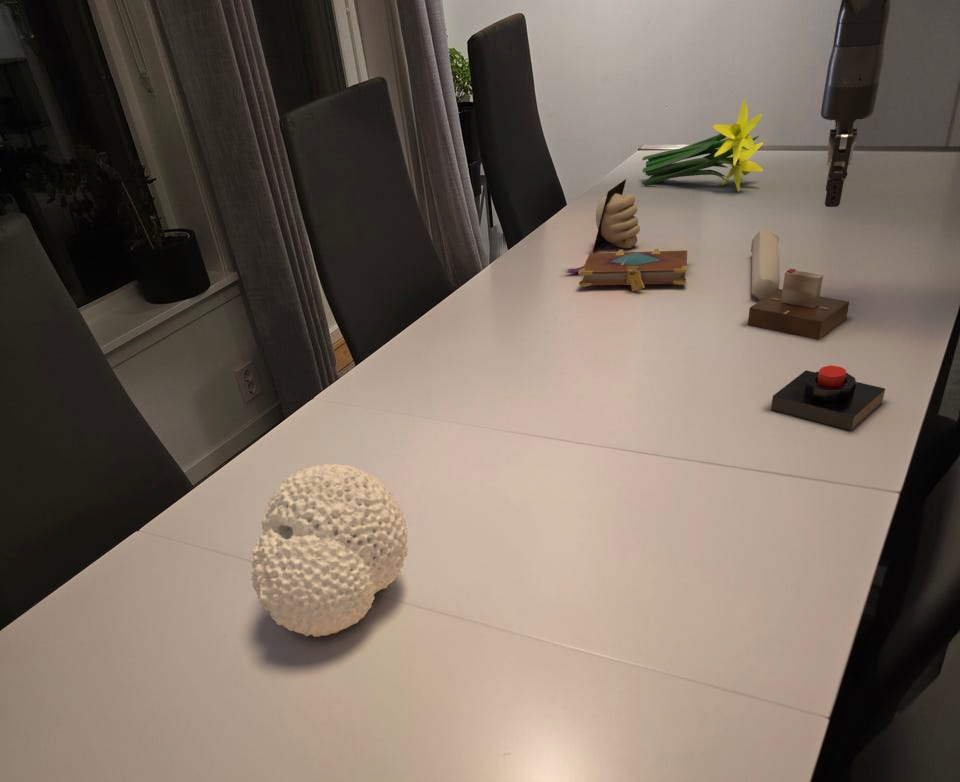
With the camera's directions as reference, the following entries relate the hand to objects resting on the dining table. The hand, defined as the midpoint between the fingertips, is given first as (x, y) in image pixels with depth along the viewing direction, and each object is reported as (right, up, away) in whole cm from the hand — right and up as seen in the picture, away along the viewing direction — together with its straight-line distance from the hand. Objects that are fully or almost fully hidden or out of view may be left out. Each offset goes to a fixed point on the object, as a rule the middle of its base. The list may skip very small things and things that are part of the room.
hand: (832, 198), depth 135 cm
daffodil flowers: (-2, +43, +76) cm, 88 cm away
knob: (-3, -14, +7) cm, 16 cm away
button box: (-7, -38, -14) cm, 41 cm away
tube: (-2, -2, +26) cm, 26 cm away
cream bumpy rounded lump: (-72, -67, -37) cm, 106 cm away
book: (-28, +1, +33) cm, 43 cm away
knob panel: (-2, -16, +9) cm, 19 cm away
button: (-7, -35, -16) cm, 39 cm away
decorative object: (-27, +15, +48) cm, 57 cm away
